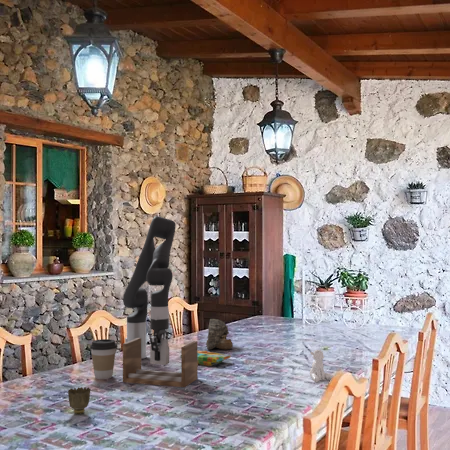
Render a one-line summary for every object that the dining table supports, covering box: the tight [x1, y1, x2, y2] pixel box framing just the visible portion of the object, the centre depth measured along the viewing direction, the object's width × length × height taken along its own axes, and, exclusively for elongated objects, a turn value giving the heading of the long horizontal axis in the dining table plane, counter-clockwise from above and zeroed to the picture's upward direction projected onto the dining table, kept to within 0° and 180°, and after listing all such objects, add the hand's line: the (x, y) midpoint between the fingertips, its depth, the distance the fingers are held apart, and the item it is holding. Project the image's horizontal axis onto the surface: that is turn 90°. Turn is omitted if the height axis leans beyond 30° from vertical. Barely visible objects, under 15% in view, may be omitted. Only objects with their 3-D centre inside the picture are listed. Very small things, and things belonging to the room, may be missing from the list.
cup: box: [67, 386, 91, 415], centre depth 205 cm, size 8×7×8 cm
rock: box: [205, 318, 234, 351], centre depth 316 cm, size 18×14×15 cm
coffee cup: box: [89, 338, 118, 380], centre depth 255 cm, size 11×11×15 cm
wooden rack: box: [122, 338, 199, 388], centre depth 249 cm, size 27×14×16 cm, turn 72°
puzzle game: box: [197, 349, 231, 367], centre depth 282 cm, size 12×5×20 cm
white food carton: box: [149, 338, 170, 366], centre depth 248 cm, size 4×7×10 cm, turn 72°
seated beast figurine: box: [309, 349, 334, 383], centre depth 251 cm, size 10×9×12 cm
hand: (159, 359), depth 248 cm, fingers closed on white food carton, 3 cm apart
